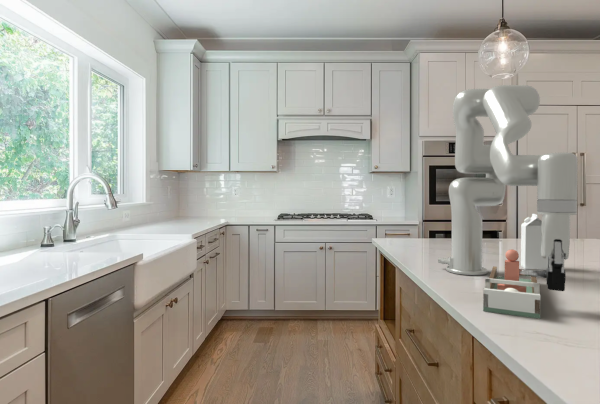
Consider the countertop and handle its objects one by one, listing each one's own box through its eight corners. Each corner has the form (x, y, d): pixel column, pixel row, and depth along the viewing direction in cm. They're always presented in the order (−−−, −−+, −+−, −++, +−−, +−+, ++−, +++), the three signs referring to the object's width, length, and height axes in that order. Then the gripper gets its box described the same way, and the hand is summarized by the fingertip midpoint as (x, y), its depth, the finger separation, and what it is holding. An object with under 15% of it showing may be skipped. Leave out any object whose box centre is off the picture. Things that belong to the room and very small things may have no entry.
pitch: (483, 311, 88) (483, 293, 88) (493, 279, 119) (493, 266, 119) (540, 318, 82) (540, 300, 82) (534, 283, 114) (535, 269, 114)
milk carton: (543, 266, 138) (543, 213, 138) (548, 270, 131) (549, 214, 131) (520, 265, 140) (521, 213, 140) (525, 269, 134) (525, 214, 133)
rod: (497, 298, 93) (497, 249, 92) (497, 295, 95) (498, 247, 95) (565, 306, 86) (565, 253, 86) (563, 303, 89) (564, 251, 88)
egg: (501, 290, 88) (501, 284, 91) (501, 307, 88) (501, 300, 92) (521, 292, 86) (521, 286, 89) (521, 309, 86) (521, 302, 90)
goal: (483, 306, 88) (483, 283, 88) (485, 300, 93) (485, 277, 93) (540, 314, 82) (540, 288, 82) (539, 306, 88) (539, 283, 87)
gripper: (535, 206, 97) (535, 279, 97) (538, 209, 82) (537, 294, 83) (572, 206, 93) (571, 282, 93) (581, 209, 79) (580, 299, 79)
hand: (555, 287), depth 88 cm, fingers closed on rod, 3 cm apart
